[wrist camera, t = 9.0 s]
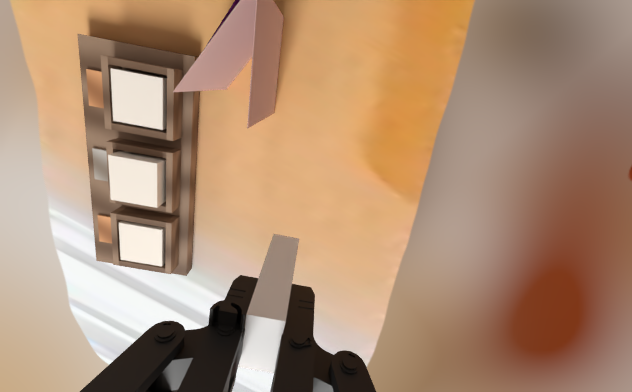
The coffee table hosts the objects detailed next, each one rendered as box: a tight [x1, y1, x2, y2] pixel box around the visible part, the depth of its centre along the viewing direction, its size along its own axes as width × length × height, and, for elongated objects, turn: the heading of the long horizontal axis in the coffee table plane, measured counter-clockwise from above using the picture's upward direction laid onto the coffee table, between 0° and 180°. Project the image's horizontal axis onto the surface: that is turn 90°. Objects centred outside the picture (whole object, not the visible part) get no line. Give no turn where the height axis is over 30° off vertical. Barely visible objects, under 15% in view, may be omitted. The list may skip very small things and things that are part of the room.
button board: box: [78, 34, 200, 276], centre depth 42 cm, size 32×14×4 cm, turn 170°
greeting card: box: [173, 0, 284, 128], centre depth 32 cm, size 11×7×15 cm, turn 136°
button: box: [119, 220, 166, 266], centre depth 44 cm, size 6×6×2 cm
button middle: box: [108, 151, 166, 208], centre depth 39 cm, size 6×6×2 cm
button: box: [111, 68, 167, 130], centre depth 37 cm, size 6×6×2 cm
